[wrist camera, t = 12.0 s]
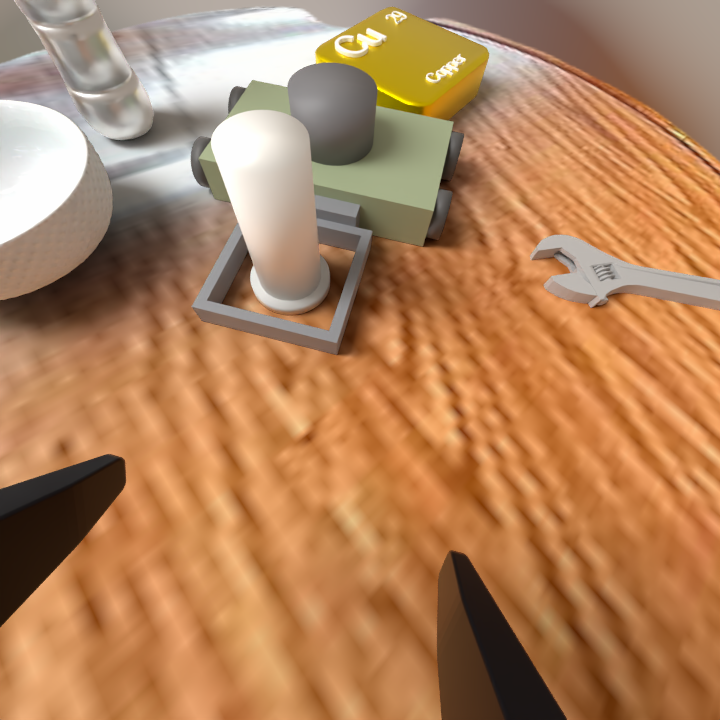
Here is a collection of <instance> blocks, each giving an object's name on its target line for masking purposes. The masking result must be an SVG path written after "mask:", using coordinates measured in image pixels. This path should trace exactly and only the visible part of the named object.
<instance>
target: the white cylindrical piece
mask: <svg viewBox="0 0 720 720" xmlns="http://www.w3.org/2000/svg"><path fill="white" fill-rule="evenodd" d="M211 147H212V150H213V153H214V156H215V159H216V162H217V164H218V167H219V170H220V173H221V176H222V178H223V181H224V184H225V187H226V190H227V192H228V195H229V198H230V201H231V203H232V206H233V209H234V212H235V215H236V217H237V220H238V223H239V226H240V229H241V231H242V234H243V237H244V240H245V242H246V245H247V248H248V251H249V254H250V256H251V259H252V262H253V267H252V270H251V275H250V281H251V286H252V288H253V291H254V293H255V296H256V298H257V299H258V301H259V302H260V303H261V304H262V305H263V306H264V307H265V308H267V309H268V310H270V311H272V312H275V313H278V314H282V315H298V314H302V313H305V312H308V311H310V310H312V309H314V308H316V307H317V306H318V305H319V304H321V303H322V301H323V300H324V299H325V298H326V296H327V294H328V292H329V289H330V271H329V267H328V264H327V262H326V261H325V259H324V258H323V257H322V256H321V255H320V253H319V242H318V230H317V219H316V207H315V196H314V184H313V172H312V161H311V149H310V138H309V134H308V131H307V129H306V128H305V126H304V125H303V124H302V123H301V122H300V121H299V120H297V119H296V118H294V117H292V116H290V115H288V114H285V113H282V112H278V111H273V110H252V111H246V112H242V113H239V114H236V115H234V116H232V117H230V118H228V119H226V120H225V121H223V122H222V123H221V124H220V125H219V126H218V127H217V128H216V129H215V131H214V133H213V135H212V138H211Z"/></svg>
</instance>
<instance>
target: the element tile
mask: <svg viewBox="0 0 720 720" xmlns="http://www.w3.org/2000/svg"><path fill="white" fill-rule="evenodd" d="M315 55H316V64H318V63H341V64H347V65H350V66H354V67H356V68H359V69H361V70H363V71H364V72H366V73H367V74H368V75H370V76H371V77H372V78H373V80H374V81H375V83H376V85H377V103H376V106H380V107H385V108H390V109H394V110H399V111H404V112H409V113H414V114H418V115H423V116H428V117H433V118H438V119H443V120H447V121H448V120H449V119H450V118H451V117H453V116H454V115H455V114H456V113H457V112H458V111H460V110H461V109H462V108H463V107H464V106H465V105H467V104H468V103H469V102H470V101H471V100H472V99H474V98H475V97H476V95H477V93H478V90H479V87H480V83H481V80H482V77H483V74H484V71H485V68H486V65H487V62H488V59H489V52H488V50H487V48H486V47H484V46H482V45H480V44H478V43H475V42H473V41H471V40H469V39H466V38H464V37H462V36H460V35H457V34H455V33H453V32H450V31H448V30H446V29H444V28H441V27H439V26H437V25H435V24H432V23H430V22H428V21H426V20H423V19H421V18H419V17H417V16H414V15H412V14H410V13H407V12H405V11H402V10H401V9H398V8H395V7H388V8H386V9H383V10H381V11H379V12H377V13H376V14H374V15H372V16H371V17H369V18H367V19H366V20H363V21H362V22H360V23H358V24H356V25H355V26H353V27H351V28H349V29H348V30H346V31H344V32H343V33H341V34H339V35H337V36H336V37H334V38H332V39H330V40H329V41H327V42H325V43H323V44H322V45H320V46H319V47H318V48H317V50H316V52H315Z"/></svg>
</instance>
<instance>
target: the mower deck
mask: <svg viewBox="0 0 720 720" xmlns="http://www.w3.org/2000/svg"><path fill="white" fill-rule="evenodd" d="M376 103H377V85H376V83H375V81H374V80H373V78H372V77H371V76H370V75H368V74H367V73H366V72H364V71H363V70H361V69H359V68H356V67H354V66H350V65H347V64H341V63H318V64H313V65H310V66H307V67H304V68H302V69H300V70H299V71H297V72H296V73H295V74H294V75H292V77H291V78H290V80H289V82H288V87H283V86H279V85H274V84H269V83H264V82H259V81H255V80H252V81H251V83H250V84H249V86H248V87H247V88H243V87H238V86H236V87H234V88H233V89H232V91H231V93H230V97H229V106H228V110H229V115H228V116H227V118H226V119H228V118H230V117H232V116H234V115H236V114H239V113H242V112H246V111H252V110H273V111H278V112H282V113H285V114H288V115H290V116H292V117H294V118H296V119H297V120H299V121H300V122H301V123H302V124H303V125H304V126H305V128H306V129H307V131H308V134H309V138H310V149H311V161H312V172H313V184H314V196H315V207H316V219H317V230H318V242H319V243H322V244H326V245H330V246H334V247H339V248H343V249H347V250H351V251H356V252H355V255H354V258H353V261H352V264H351V267H350V270H349V273H348V276H347V279H346V282H345V285H344V288H343V291H342V294H341V297H340V300H339V303H338V306H337V309H336V312H335V315H334V318H333V321H332V324H331V327H330V330H329V331H327V330H323V329H319V328H315V327H311V326H307V325H303V324H299V323H295V322H291V321H287V320H283V319H279V318H275V317H271V316H267V315H263V314H259V313H255V312H251V311H247V310H243V309H239V308H235V307H231V306H227V305H223V304H222V302H223V300H224V298H225V296H226V294H227V292H228V290H229V288H230V286H231V284H232V282H233V280H234V278H235V276H236V274H237V272H238V270H239V268H240V266H241V264H242V262H243V260H244V258H245V256H246V254H247V252H248V248H247V245H246V242H245V240H244V237H243V234H242V231H241V229H240V226H239V223H237V225H236V227H235V229H234V230H233V232H232V234H231V236H230V238H229V240H228V241H227V243H226V245H225V247H224V249H223V250H222V252H221V254H220V256H219V258H218V260H217V261H216V263H215V265H214V267H213V269H212V271H211V272H210V274H209V276H208V278H207V280H206V281H205V283H204V285H203V287H202V289H201V291H200V292H199V294H198V296H197V298H196V300H195V301H194V303H193V305H192V308H193V309H194V311H195V312H196V313H197V315H198V316H199V317H200V319H201V320H202V321H205V322H209V323H213V324H217V325H221V326H225V327H229V328H233V329H236V330H240V331H244V332H248V333H252V334H256V335H260V336H264V337H268V338H272V339H276V340H280V341H284V342H288V343H292V344H296V345H300V346H304V347H308V348H312V349H316V350H320V351H324V352H327V353H331V354H335V355H337V354H338V351H339V348H340V344H341V341H342V338H343V335H344V332H345V328H346V325H347V322H348V319H349V316H350V313H351V309H352V306H353V303H354V300H355V297H356V293H357V290H358V287H359V284H360V281H361V277H362V274H363V271H364V268H365V265H366V261H367V258H368V255H369V252H370V249H371V241H372V235H374V236H379V237H383V238H387V239H392V240H396V241H400V242H405V243H409V244H413V245H418V246H422V247H423V244H424V241H425V237H427V238H431V239H435V240H439V238H440V236H441V233H442V231H443V228H444V224H445V221H446V218H447V214H448V211H449V207H450V203H451V198H452V191H448V190H443V189H439V185H440V180H441V179H443V180H448V181H451V179H452V176H453V174H454V171H455V167H456V164H457V161H458V157H459V154H460V150H461V147H462V143H463V138H464V134H463V133H458V132H453V131H452V127H453V123H454V122H452V121H447V120H443V119H438V118H433V117H428V116H423V115H418V114H414V113H409V112H404V111H399V110H394V109H390V108H385V107H380V106H376ZM226 119H225V120H226ZM191 167H192V171H193V175H194V177H195V179H196V181H197V182H198V183H199V184H200V185H201V186H204V187H208V188H211V191H212V193H213V195H214V198H215V199H218V200H222V201H227V202H231V201H230V198H229V195H228V192H227V190H226V187H225V184H224V181H223V178H222V176H221V173H220V170H219V167H218V164H217V162H216V159H215V156H214V153H213V150H212V147H211V138H207V137H199V138H198V139H196V141H195V142H194V144H193V147H192V151H191Z"/></svg>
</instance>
